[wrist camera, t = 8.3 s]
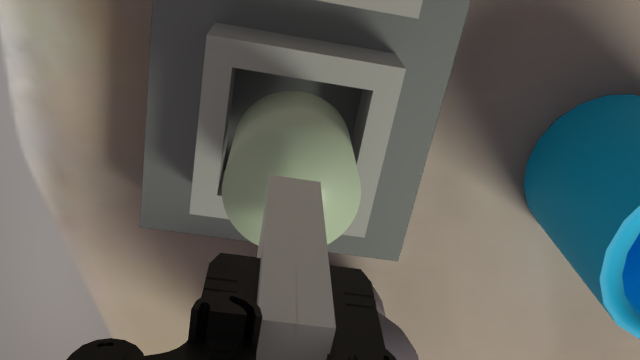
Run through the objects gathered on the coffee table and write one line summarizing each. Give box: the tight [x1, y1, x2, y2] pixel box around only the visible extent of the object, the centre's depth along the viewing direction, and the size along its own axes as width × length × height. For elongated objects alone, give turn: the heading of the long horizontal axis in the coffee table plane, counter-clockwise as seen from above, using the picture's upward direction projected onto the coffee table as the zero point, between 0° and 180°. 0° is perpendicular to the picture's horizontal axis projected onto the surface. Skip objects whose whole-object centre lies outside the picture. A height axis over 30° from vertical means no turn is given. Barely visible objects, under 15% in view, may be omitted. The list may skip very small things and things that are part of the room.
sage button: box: [222, 91, 361, 246], centre depth 20 cm, size 4×4×4 cm
